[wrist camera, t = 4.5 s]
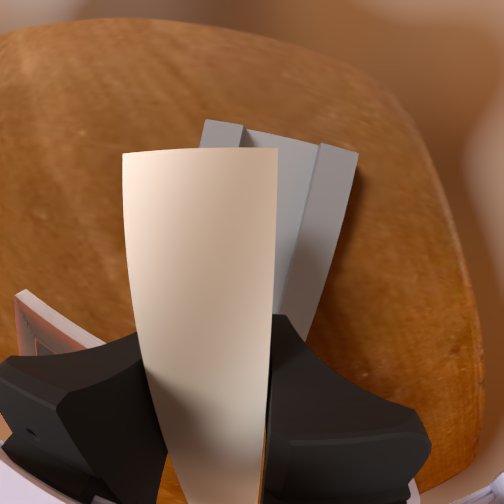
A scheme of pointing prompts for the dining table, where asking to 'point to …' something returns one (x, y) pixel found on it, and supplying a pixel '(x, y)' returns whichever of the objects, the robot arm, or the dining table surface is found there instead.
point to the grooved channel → (298, 213)
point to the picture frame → (47, 329)
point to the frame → (205, 306)
